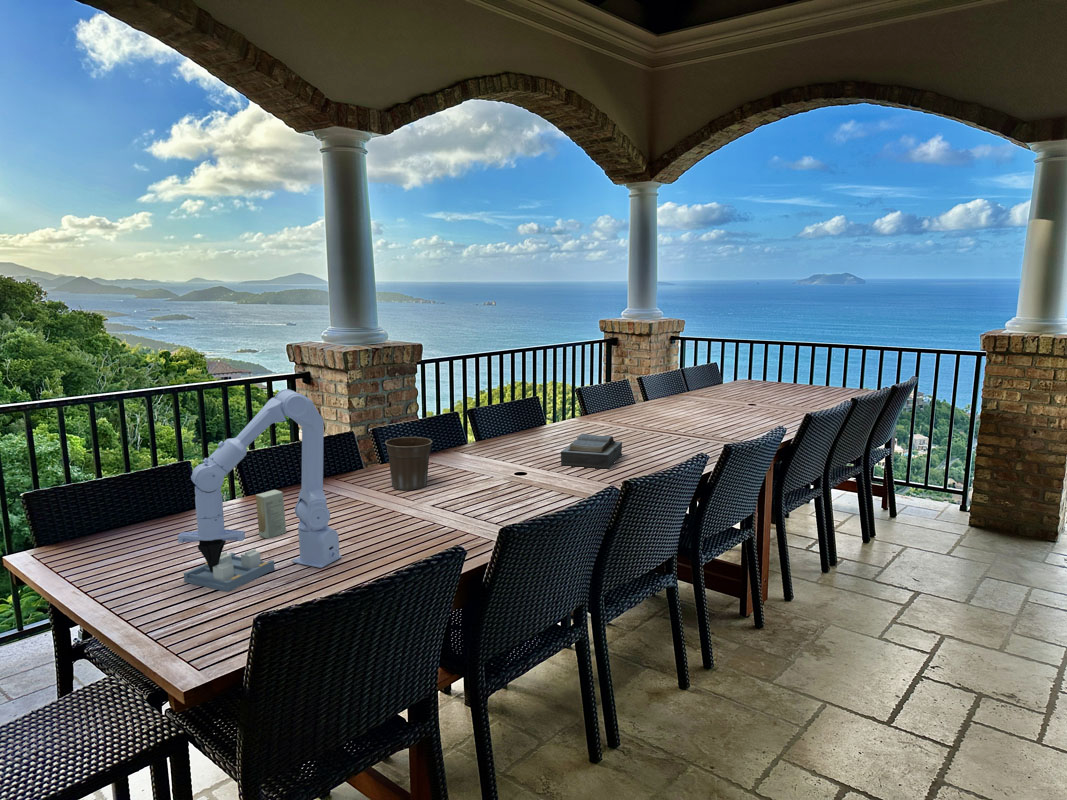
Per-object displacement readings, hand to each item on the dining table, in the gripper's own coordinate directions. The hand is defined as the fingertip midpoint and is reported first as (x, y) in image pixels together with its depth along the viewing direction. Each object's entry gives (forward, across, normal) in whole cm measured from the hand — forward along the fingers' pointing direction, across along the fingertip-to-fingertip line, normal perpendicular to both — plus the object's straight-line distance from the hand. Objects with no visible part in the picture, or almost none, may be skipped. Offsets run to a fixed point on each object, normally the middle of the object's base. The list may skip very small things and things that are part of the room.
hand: (214, 570), depth 165 cm
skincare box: (+3, -4, -32) cm, 33 cm away
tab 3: (+2, -7, -6) cm, 9 cm away
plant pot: (+3, -38, -78) cm, 87 cm away
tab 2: (+2, -3, +1) cm, 3 cm away
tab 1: (+2, 0, -5) cm, 5 cm away
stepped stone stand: (+3, -108, -108) cm, 153 cm away
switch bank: (+3, -2, -4) cm, 5 cm away
